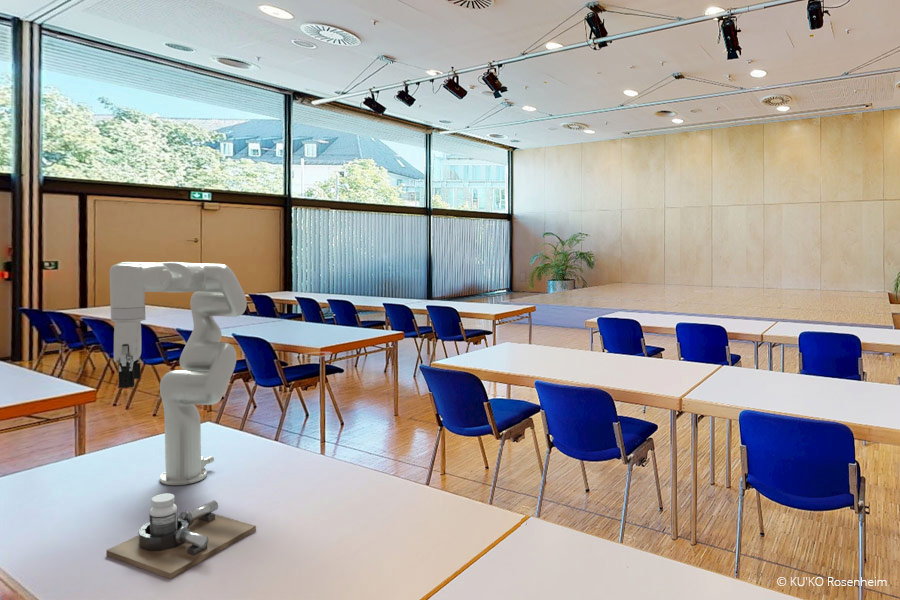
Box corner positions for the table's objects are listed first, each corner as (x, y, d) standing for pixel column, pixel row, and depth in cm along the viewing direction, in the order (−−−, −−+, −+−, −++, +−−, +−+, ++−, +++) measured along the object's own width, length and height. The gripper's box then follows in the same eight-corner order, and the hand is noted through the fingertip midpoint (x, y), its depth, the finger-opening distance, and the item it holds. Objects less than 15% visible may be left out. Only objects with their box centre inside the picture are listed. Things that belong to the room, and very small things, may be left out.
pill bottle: (156, 534, 140) (155, 492, 139) (181, 533, 141) (180, 491, 140) (146, 546, 135) (144, 502, 134) (172, 545, 135) (171, 502, 134)
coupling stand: (196, 513, 154) (195, 492, 154) (255, 530, 146) (255, 508, 145) (106, 555, 133) (105, 531, 132) (170, 578, 124) (169, 552, 124)
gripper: (117, 310, 157) (119, 376, 158) (103, 318, 140) (105, 391, 142) (150, 310, 159) (151, 374, 161) (139, 318, 143) (141, 389, 144)
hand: (130, 382), depth 151 cm, fingers open, 9 cm apart
